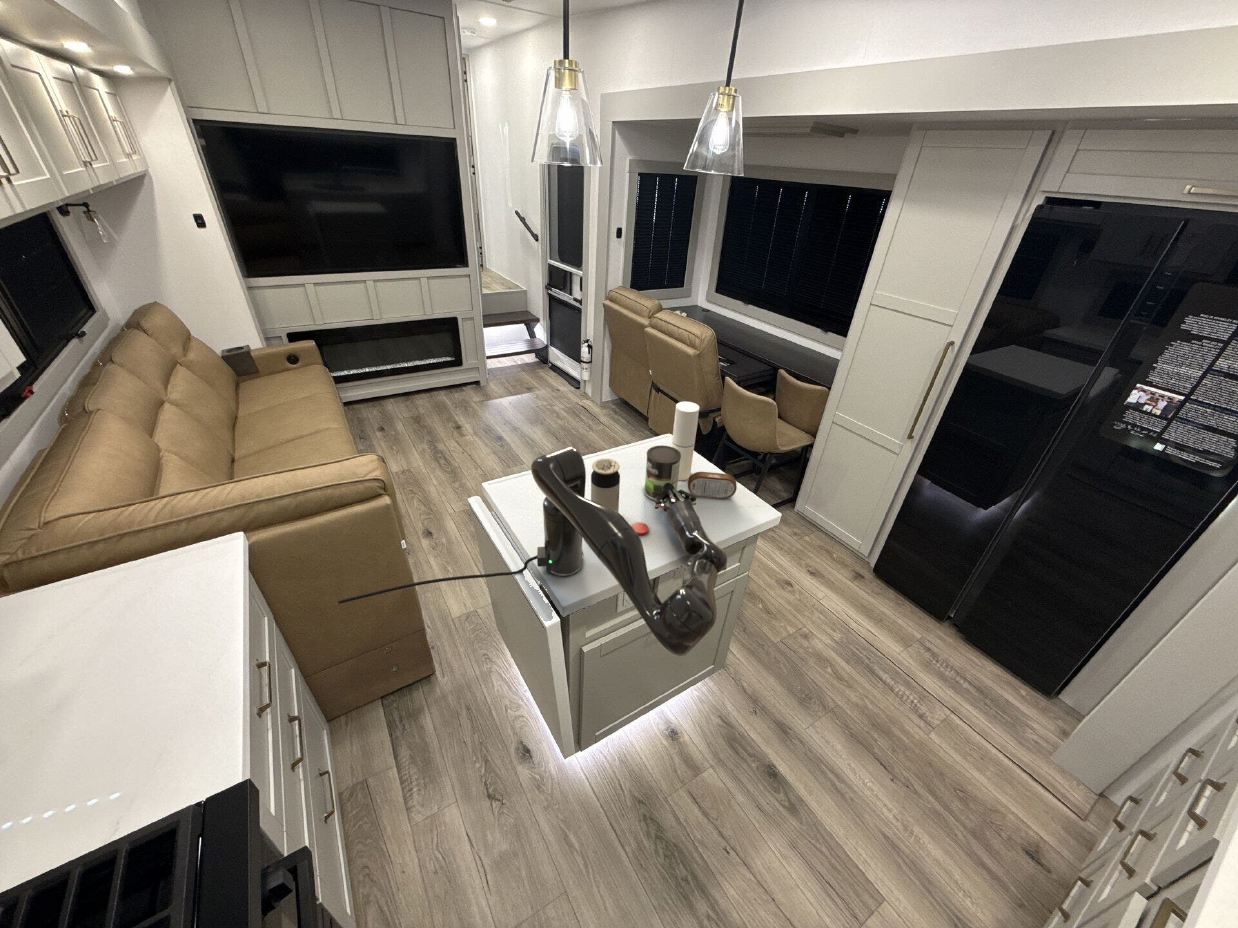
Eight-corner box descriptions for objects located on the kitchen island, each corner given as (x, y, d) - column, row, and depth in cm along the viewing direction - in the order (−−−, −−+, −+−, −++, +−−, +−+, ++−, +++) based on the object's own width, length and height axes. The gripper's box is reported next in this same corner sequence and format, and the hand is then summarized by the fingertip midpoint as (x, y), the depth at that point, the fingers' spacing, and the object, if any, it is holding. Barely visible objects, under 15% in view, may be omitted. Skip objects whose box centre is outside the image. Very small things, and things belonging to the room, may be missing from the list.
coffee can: (654, 505, 146) (657, 465, 139) (638, 487, 154) (640, 449, 146) (683, 496, 150) (687, 458, 143) (666, 480, 158) (669, 442, 150)
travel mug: (587, 523, 138) (587, 470, 128) (595, 506, 144) (595, 455, 135) (614, 528, 136) (616, 475, 127) (621, 511, 143) (623, 460, 133)
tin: (733, 495, 152) (738, 473, 147) (734, 501, 149) (739, 479, 145) (686, 491, 153) (689, 469, 148) (686, 497, 150) (689, 474, 146)
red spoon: (598, 548, 129) (598, 545, 128) (591, 538, 133) (591, 535, 132) (651, 532, 135) (651, 529, 135) (643, 523, 139) (643, 520, 138)
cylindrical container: (666, 477, 159) (673, 409, 146) (671, 466, 165) (678, 400, 151) (688, 482, 157) (697, 413, 144) (691, 470, 163) (701, 403, 150)
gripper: (660, 534, 132) (645, 497, 146) (706, 529, 134) (686, 493, 148) (662, 512, 128) (646, 476, 142) (709, 507, 130) (689, 473, 144)
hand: (667, 485), depth 145 cm, fingers closed
